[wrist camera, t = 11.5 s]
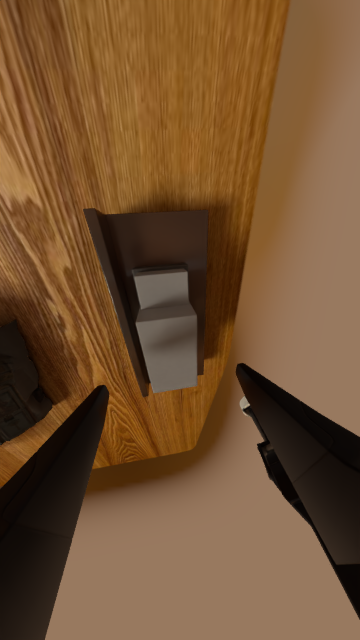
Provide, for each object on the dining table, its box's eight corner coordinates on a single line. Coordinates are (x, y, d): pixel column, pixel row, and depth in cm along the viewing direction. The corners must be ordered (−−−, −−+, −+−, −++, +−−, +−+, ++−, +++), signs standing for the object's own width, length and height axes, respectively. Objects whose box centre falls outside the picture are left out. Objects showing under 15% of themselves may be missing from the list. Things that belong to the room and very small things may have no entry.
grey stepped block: (189, 356, 19) (199, 391, 14) (154, 361, 18) (152, 400, 14) (185, 262, 13) (200, 271, 8) (134, 267, 13) (120, 278, 8)
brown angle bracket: (199, 362, 23) (207, 386, 19) (145, 370, 22) (142, 397, 18) (200, 215, 13) (217, 202, 10) (105, 220, 13) (82, 208, 9)
